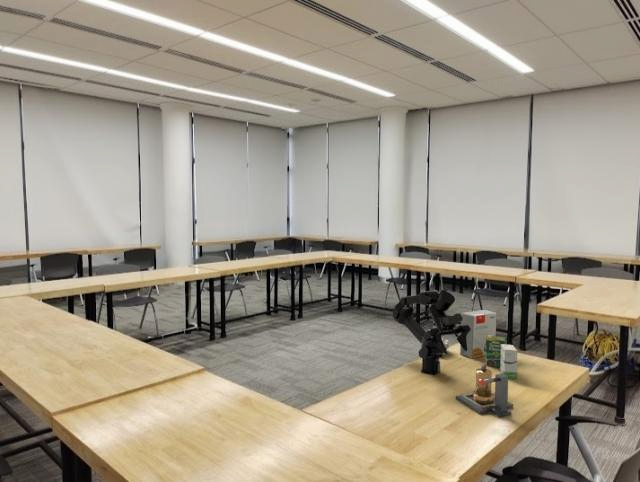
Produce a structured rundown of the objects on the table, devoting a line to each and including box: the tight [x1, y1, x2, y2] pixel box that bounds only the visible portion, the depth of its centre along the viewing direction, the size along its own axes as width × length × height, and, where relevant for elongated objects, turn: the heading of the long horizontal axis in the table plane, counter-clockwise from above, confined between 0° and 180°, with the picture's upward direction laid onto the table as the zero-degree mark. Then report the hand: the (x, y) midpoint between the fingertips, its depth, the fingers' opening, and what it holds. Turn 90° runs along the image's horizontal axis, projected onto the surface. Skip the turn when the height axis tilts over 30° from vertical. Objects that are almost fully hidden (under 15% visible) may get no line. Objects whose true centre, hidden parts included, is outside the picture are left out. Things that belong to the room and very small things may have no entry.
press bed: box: [455, 372, 514, 418], centre depth 155 cm, size 17×16×13 cm
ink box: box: [499, 343, 518, 380], centre depth 183 cm, size 9×5×12 cm, turn 168°
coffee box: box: [485, 335, 507, 368], centre depth 194 cm, size 8×3×13 cm, turn 59°
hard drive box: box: [459, 309, 497, 359], centre depth 209 cm, size 16×8×20 cm, turn 117°
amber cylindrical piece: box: [472, 364, 495, 404], centre depth 157 cm, size 7×7×12 cm
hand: (456, 352), depth 171 cm, fingers open, 9 cm apart
